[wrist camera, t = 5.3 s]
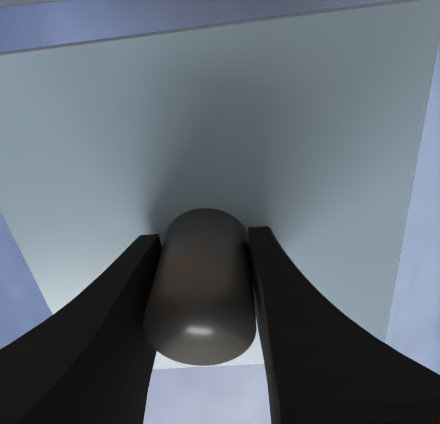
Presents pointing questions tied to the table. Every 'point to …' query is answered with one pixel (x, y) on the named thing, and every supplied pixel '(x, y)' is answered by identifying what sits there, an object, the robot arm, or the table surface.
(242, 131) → the lid
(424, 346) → the table surface
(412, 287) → the table surface
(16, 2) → the storage box
